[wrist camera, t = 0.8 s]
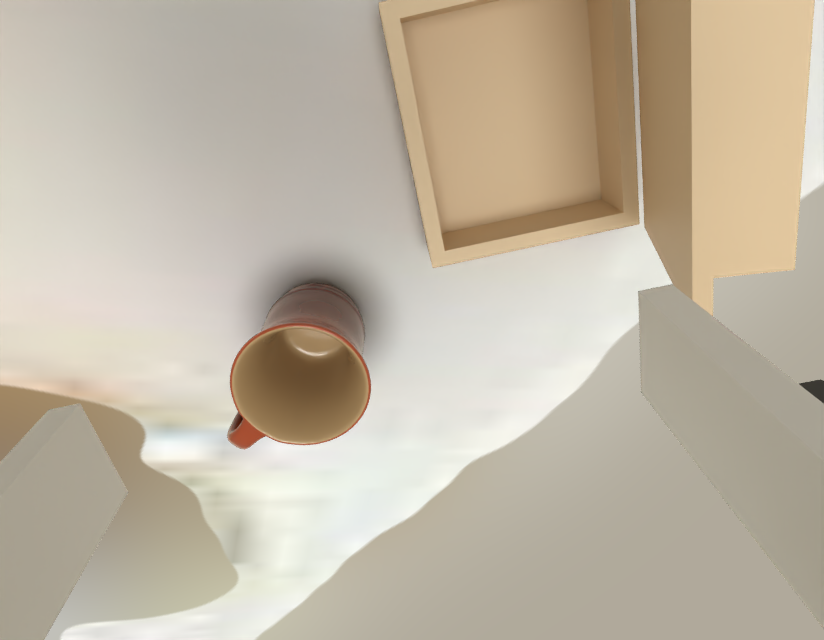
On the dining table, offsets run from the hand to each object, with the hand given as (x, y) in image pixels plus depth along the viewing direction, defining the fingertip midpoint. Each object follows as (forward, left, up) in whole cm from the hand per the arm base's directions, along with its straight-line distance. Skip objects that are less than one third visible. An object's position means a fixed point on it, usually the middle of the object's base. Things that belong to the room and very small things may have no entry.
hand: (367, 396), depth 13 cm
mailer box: (-2, +9, -30) cm, 31 cm away
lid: (-2, +15, -17) cm, 23 cm away
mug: (+11, -9, -30) cm, 33 cm away
